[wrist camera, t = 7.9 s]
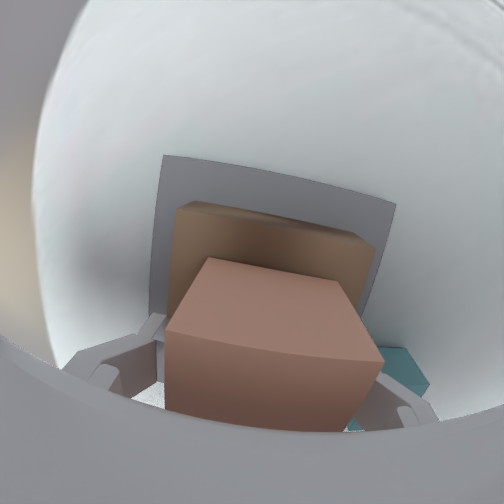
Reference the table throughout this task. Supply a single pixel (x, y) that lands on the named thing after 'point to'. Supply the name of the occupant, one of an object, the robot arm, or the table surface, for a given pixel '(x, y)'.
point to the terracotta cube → (267, 350)
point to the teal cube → (399, 374)
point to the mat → (259, 210)
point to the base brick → (263, 247)
